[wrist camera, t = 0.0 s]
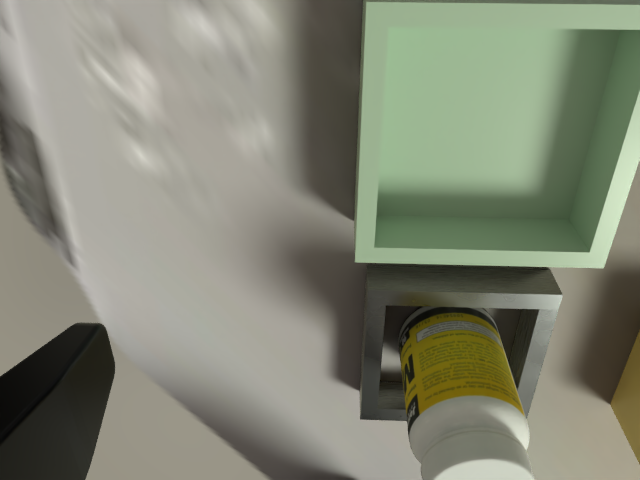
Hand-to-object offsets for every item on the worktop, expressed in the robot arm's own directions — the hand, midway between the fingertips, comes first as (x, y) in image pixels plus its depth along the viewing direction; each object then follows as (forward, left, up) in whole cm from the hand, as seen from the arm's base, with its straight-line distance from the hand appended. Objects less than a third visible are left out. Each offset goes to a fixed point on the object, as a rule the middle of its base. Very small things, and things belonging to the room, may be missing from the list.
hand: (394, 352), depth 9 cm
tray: (-2, -5, -15) cm, 15 cm away
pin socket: (-13, -5, -15) cm, 20 cm away
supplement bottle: (-13, -5, -15) cm, 20 cm away
